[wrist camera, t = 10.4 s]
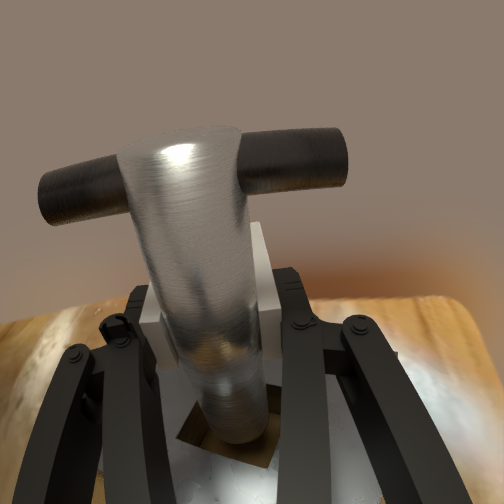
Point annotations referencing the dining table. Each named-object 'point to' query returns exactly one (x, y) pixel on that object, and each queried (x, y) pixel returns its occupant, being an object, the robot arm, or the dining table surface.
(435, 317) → the dining table surface
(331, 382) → the block
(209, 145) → the chuck key
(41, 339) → the dining table surface
